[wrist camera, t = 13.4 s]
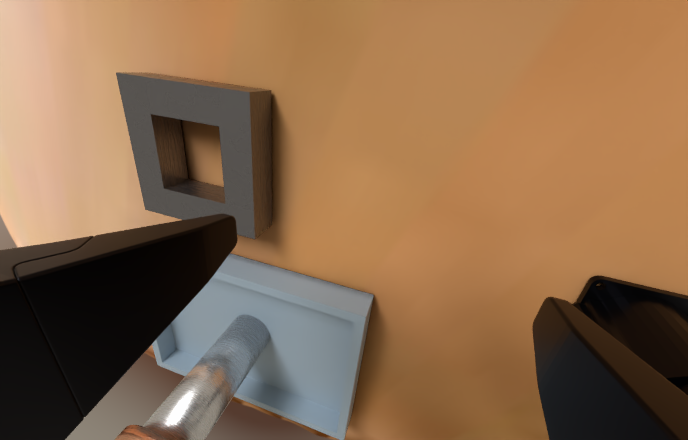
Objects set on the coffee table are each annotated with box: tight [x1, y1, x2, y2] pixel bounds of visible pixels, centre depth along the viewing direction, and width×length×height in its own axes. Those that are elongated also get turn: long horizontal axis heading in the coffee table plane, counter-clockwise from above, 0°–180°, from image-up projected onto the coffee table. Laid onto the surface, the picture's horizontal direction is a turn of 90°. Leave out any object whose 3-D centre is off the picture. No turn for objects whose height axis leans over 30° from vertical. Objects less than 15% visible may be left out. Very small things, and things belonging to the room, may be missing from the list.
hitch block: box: [116, 73, 272, 239], centre depth 22 cm, size 10×10×2 cm
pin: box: [115, 315, 270, 440], centre depth 25 cm, size 6×6×12 cm
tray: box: [152, 254, 374, 440], centre depth 29 cm, size 22×16×3 cm
